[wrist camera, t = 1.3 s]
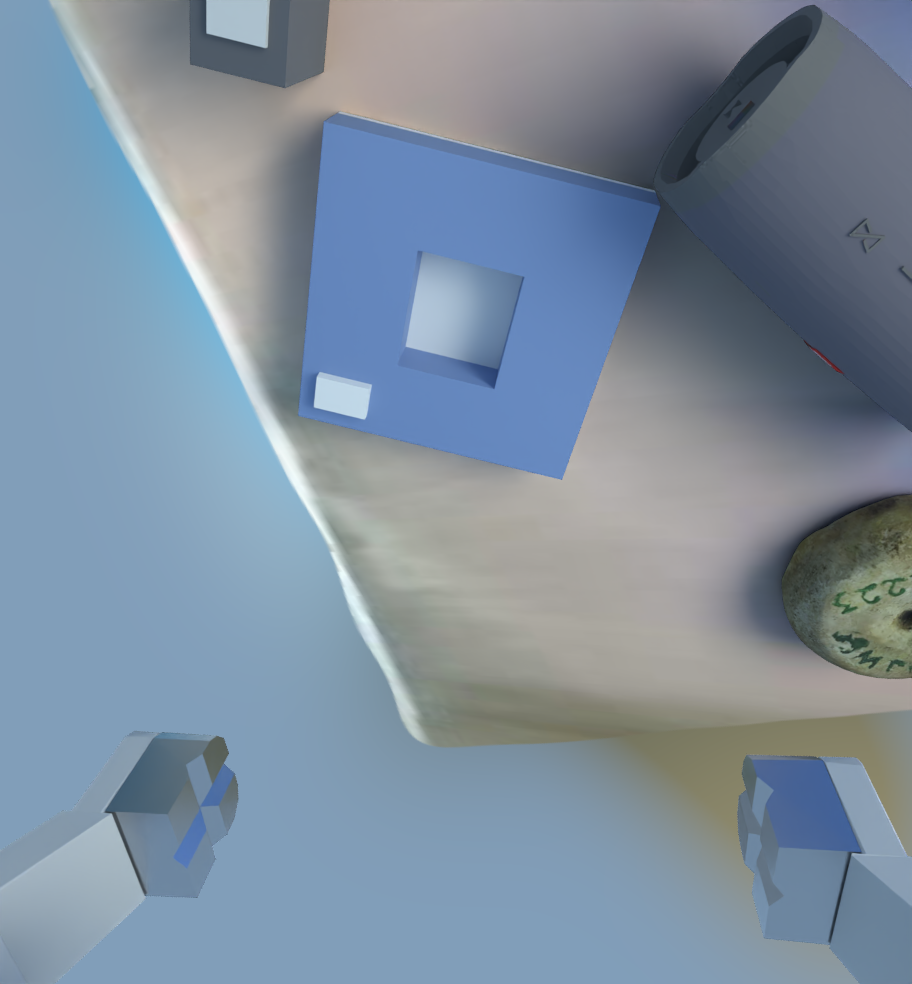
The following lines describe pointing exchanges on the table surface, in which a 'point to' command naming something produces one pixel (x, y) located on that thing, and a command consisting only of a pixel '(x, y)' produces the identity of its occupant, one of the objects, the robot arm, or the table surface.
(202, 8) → the plug
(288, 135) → the table surface
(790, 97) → the bluetooth speaker
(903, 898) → the robot arm
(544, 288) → the socket
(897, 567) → the weight
